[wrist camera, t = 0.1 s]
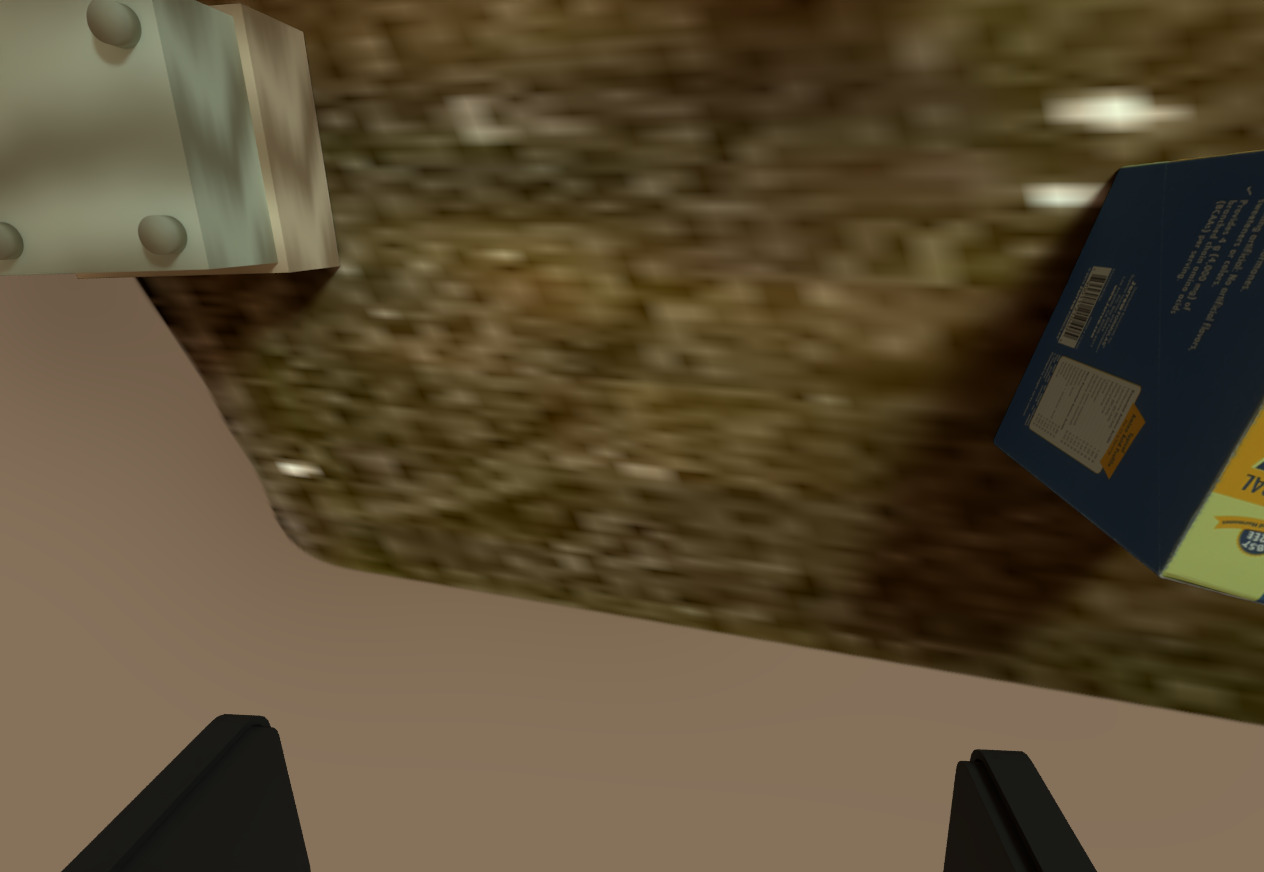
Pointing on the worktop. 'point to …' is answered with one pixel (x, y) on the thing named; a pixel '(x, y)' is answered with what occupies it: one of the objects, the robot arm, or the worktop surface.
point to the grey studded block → (157, 142)
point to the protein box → (1161, 375)
